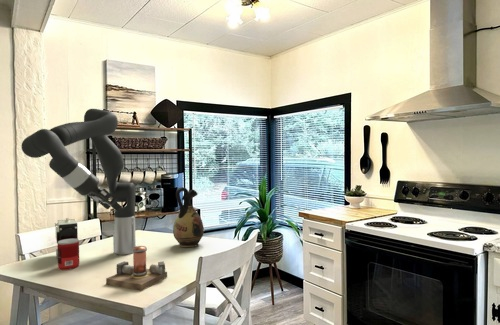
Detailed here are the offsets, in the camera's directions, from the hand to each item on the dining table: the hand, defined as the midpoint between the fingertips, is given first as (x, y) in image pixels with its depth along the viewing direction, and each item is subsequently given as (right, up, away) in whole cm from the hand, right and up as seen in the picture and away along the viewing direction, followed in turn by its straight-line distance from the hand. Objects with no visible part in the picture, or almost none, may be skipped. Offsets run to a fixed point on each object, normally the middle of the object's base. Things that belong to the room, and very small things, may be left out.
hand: (114, 208), depth 124 cm
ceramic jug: (+17, -26, +52) cm, 61 cm away
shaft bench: (+7, -27, +3) cm, 28 cm away
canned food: (-27, -27, +20) cm, 43 cm away
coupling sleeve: (+8, -24, +2) cm, 26 cm away
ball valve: (-36, -27, +35) cm, 57 cm away
